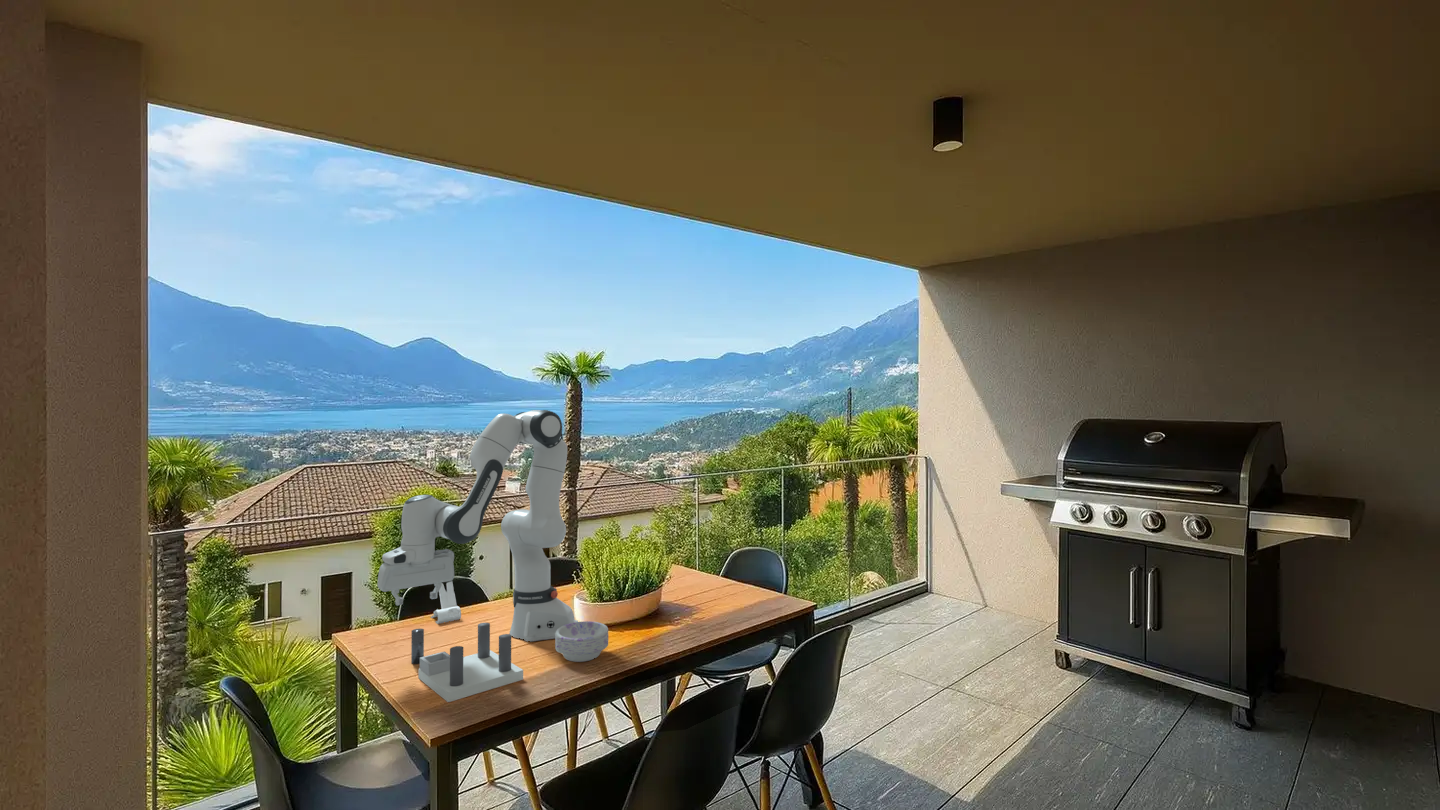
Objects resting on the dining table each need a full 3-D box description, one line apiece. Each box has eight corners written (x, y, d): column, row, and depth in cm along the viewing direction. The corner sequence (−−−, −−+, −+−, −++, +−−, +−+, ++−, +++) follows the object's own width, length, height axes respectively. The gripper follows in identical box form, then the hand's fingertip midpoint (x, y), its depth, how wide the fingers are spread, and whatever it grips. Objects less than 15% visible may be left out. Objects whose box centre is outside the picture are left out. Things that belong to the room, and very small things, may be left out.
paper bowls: (560, 669, 183) (560, 641, 183) (551, 651, 197) (551, 624, 197) (614, 661, 189) (614, 633, 189) (601, 644, 203) (601, 618, 203)
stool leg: (424, 659, 191) (425, 628, 191) (422, 663, 187) (422, 631, 187) (413, 660, 190) (413, 628, 190) (410, 664, 187) (410, 632, 187)
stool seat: (490, 658, 191) (490, 618, 191) (523, 679, 177) (523, 636, 177) (418, 678, 177) (418, 635, 177) (448, 702, 163) (448, 655, 163)
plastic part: (438, 625, 221) (438, 590, 221) (429, 617, 228) (429, 584, 228) (461, 620, 225) (461, 586, 225) (451, 613, 233) (451, 580, 233)
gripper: (449, 546, 198) (449, 592, 198) (376, 555, 184) (375, 605, 184) (458, 549, 194) (457, 597, 193) (383, 559, 179) (382, 610, 179)
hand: (416, 601), depth 188 cm, fingers open, 8 cm apart
